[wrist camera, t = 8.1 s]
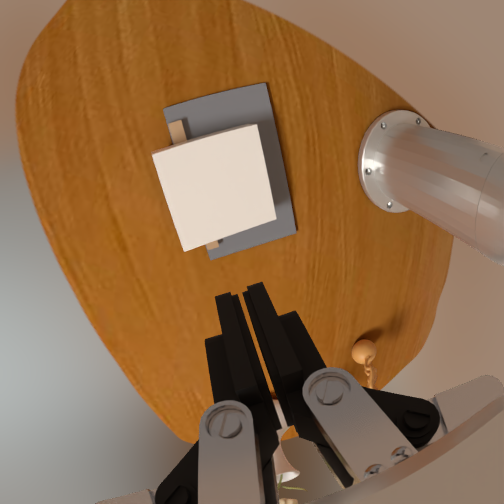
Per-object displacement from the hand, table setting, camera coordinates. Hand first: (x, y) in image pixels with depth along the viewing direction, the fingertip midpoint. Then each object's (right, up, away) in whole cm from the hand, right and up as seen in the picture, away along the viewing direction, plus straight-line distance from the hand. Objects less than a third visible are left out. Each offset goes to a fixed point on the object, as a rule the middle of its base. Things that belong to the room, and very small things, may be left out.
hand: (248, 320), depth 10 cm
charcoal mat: (-1, +10, +18) cm, 20 cm away
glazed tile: (-7, +7, +15) cm, 18 cm away
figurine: (+16, -13, +34) cm, 40 cm away
